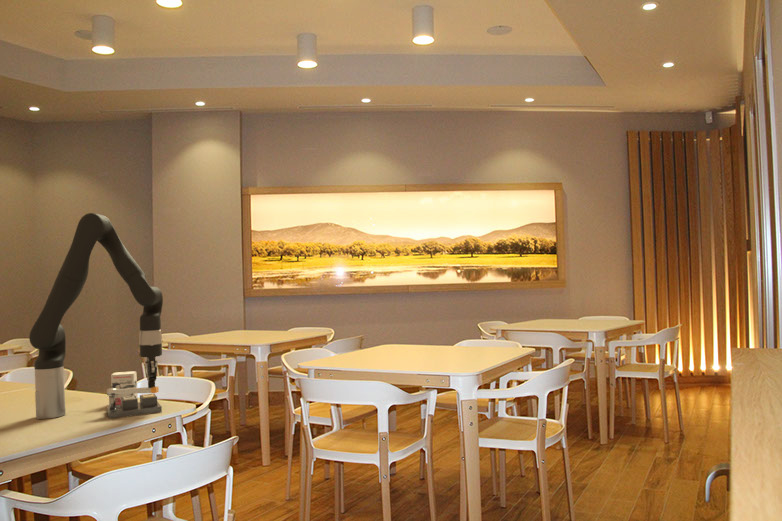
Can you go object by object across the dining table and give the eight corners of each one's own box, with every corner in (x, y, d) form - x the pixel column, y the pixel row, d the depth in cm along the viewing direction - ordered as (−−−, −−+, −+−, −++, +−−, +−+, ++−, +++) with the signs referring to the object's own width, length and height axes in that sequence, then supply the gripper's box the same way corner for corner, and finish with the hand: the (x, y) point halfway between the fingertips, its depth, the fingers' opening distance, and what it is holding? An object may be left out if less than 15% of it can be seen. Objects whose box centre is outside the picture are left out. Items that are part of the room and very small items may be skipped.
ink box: (111, 405, 253) (110, 374, 253) (115, 403, 257) (113, 372, 258) (135, 404, 254) (133, 372, 254) (138, 401, 259) (136, 371, 259)
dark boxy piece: (109, 418, 228) (108, 399, 228) (107, 411, 241) (106, 393, 241) (161, 412, 236) (160, 393, 236) (156, 405, 248) (155, 387, 248)
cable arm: (105, 395, 234) (105, 390, 234) (109, 394, 237) (109, 388, 237) (155, 393, 234) (155, 387, 234) (158, 391, 237) (158, 386, 237)
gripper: (137, 341, 243) (138, 389, 242) (141, 345, 231) (142, 395, 231) (159, 340, 246) (160, 387, 246) (164, 343, 234) (165, 393, 234)
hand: (151, 391), depth 238 cm, fingers closed
